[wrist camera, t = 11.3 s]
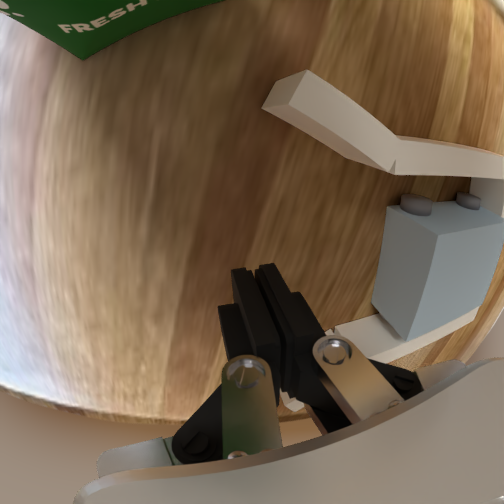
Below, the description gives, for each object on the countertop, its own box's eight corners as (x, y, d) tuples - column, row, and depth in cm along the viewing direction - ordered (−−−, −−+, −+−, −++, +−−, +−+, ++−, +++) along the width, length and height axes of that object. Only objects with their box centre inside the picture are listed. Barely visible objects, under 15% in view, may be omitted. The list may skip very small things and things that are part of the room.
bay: (259, 81, 11) (286, 68, 8) (484, 120, 14) (519, 128, 11) (270, 377, 19) (283, 415, 16) (442, 318, 22) (463, 339, 19)
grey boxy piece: (386, 193, 15) (440, 221, 11) (467, 190, 16) (511, 211, 12) (367, 308, 19) (402, 349, 15) (445, 283, 20) (479, 311, 16)
